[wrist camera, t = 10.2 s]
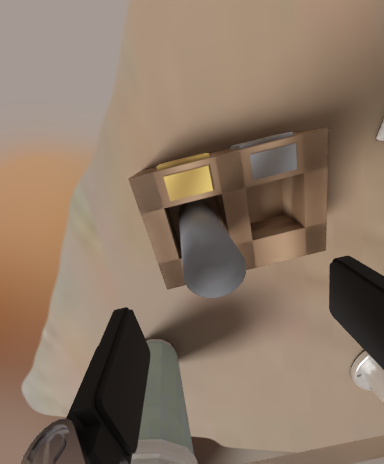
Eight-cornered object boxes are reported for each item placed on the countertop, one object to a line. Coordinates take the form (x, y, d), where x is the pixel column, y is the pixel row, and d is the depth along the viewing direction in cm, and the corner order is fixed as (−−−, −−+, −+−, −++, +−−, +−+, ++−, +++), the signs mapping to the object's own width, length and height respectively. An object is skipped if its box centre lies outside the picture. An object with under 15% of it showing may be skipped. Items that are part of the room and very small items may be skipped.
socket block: (288, 130, 21) (330, 123, 15) (292, 228, 25) (327, 251, 20) (139, 168, 21) (126, 175, 16) (168, 259, 26) (167, 290, 20)
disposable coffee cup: (129, 379, 33) (98, 542, 20) (110, 332, 29) (52, 495, 16) (193, 368, 34) (206, 521, 20) (182, 319, 30) (189, 469, 16)
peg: (208, 194, 21) (241, 236, 11) (215, 225, 22) (249, 289, 12) (174, 202, 21) (175, 252, 11) (183, 234, 22) (191, 304, 12)
